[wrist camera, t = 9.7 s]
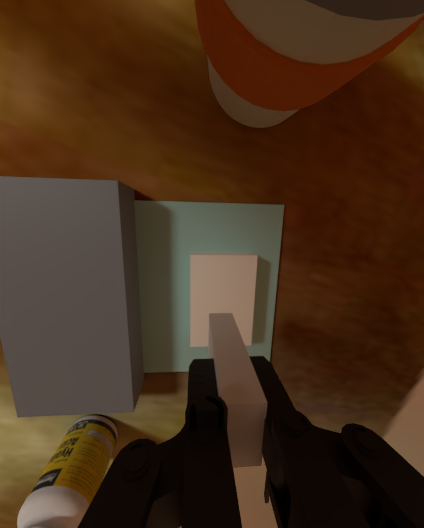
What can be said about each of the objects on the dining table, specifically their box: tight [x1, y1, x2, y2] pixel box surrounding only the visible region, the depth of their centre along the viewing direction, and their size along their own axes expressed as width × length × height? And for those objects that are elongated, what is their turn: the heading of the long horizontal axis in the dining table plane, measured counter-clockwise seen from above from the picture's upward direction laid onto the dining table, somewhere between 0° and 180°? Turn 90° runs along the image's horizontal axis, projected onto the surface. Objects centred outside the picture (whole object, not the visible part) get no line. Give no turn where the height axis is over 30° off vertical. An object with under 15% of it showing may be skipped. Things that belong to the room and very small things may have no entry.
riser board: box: [0, 176, 145, 417], centre depth 18 cm, size 20×10×4 cm, turn 179°
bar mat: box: [134, 200, 284, 373], centre depth 21 cm, size 18×14×1 cm
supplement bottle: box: [17, 415, 118, 528], centre depth 19 cm, size 5×5×10 cm
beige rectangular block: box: [190, 251, 258, 347], centre depth 20 cm, size 9×6×2 cm, turn 179°
